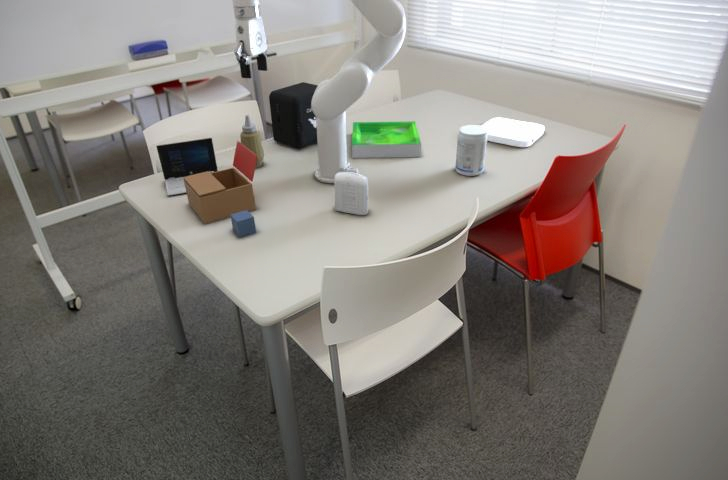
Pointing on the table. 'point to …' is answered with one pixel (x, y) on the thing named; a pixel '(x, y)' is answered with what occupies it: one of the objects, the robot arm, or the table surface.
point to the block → (243, 223)
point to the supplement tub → (471, 150)
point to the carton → (219, 194)
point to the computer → (513, 132)
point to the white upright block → (351, 193)
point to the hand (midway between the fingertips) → (254, 74)
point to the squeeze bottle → (252, 140)
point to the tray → (385, 139)
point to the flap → (245, 161)
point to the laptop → (185, 162)
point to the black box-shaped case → (293, 115)
